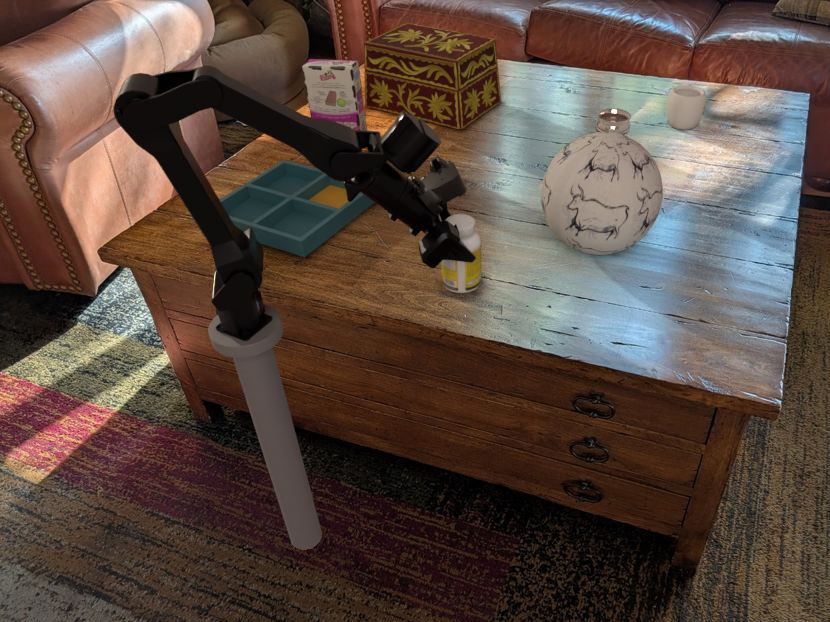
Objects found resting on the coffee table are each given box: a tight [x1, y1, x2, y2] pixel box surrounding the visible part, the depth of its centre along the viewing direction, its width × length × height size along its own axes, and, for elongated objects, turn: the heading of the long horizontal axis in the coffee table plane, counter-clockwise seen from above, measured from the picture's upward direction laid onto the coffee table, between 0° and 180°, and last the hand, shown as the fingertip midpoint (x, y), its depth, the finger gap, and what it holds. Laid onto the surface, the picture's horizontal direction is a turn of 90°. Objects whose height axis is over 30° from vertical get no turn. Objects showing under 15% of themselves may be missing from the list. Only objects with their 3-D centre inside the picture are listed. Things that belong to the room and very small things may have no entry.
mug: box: [665, 84, 708, 130], centre depth 163 cm, size 12×8×8 cm
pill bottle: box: [440, 213, 482, 294], centre depth 115 cm, size 6×6×12 cm
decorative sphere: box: [540, 131, 664, 256], centre depth 121 cm, size 20×20×20 cm
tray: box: [219, 159, 376, 258], centre depth 137 cm, size 23×23×3 cm
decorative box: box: [363, 22, 502, 131], centre depth 171 cm, size 28×19×15 cm
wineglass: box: [594, 107, 632, 136], centre depth 144 cm, size 7×7×12 cm
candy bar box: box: [301, 58, 368, 131], centre depth 157 cm, size 11×5×16 cm, turn 81°
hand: (469, 248), depth 115 cm, fingers closed on pill bottle, 6 cm apart
